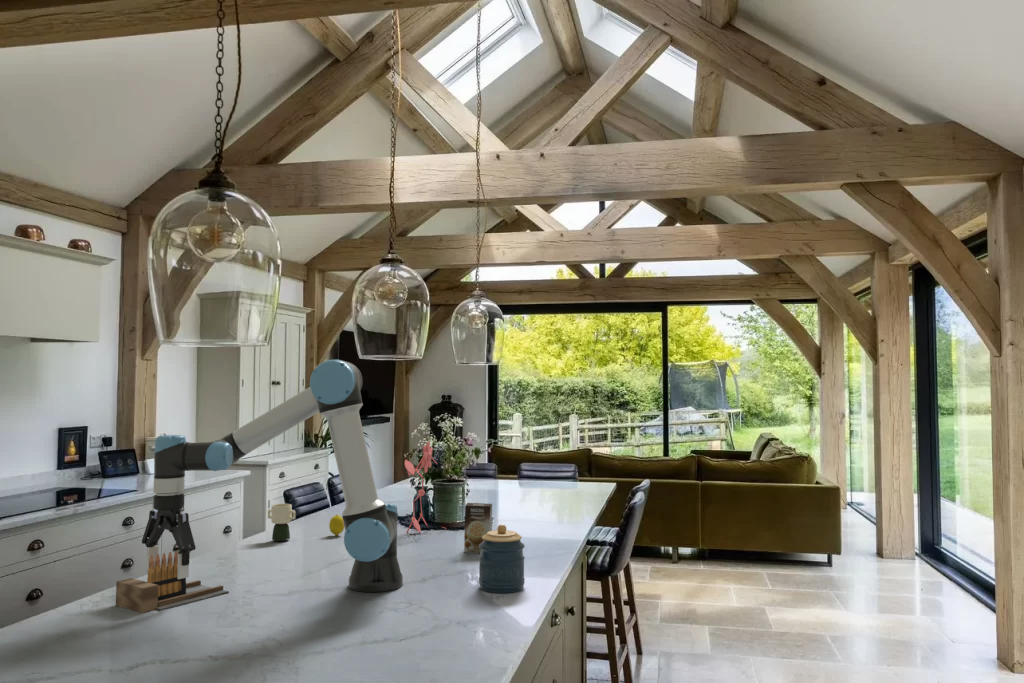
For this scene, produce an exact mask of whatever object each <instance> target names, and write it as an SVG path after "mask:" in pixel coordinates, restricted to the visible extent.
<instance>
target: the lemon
mask: <svg viewBox="0 0 1024 683" xmlns="http://www.w3.org/2000/svg"><path fill="white" fill-rule="evenodd" d="M328 525H329V526H328V527H329V530H330V532H331V533H332V534H334V535H335V536H336V537H338V536H339V535H340V534H342V533H343V531H344V530H345V527H344V522H343V517H342V515H339V514H335V515H334V516H332V517H331V518H330V521H329V524H328Z"/></svg>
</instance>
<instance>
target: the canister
mask: <svg viewBox="0 0 1024 683" xmlns="http://www.w3.org/2000/svg"><path fill="white" fill-rule="evenodd" d="M522 538H523V537H522V535H520V534H519V533H518V532H517V531H515V530H509V529H507V526H506V525H505V524H502V523H501V524H499V525H498V526H497V529H496V530H492V531H489V532H487V533H486V534H485V535H483V536H482V539H484V540H483V542H482V543H480V544H479V547H480V549H481V553H480V555H479V556H478V560H479V566H478V569H479V572H478V573H479V576H478V585H479V589H480V590H482V591H483V592H488V593H495V594H509V593H515V592H519V591H521V590H523V589H524V586H525V559H526V558H525V556H524V548H525V547H526V546H525V544H524V543H523V542H522V541H521V539H522Z"/></svg>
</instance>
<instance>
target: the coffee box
mask: <svg viewBox="0 0 1024 683" xmlns="http://www.w3.org/2000/svg"><path fill="white" fill-rule="evenodd" d="M489 531H493V503H481V502H467V503H466V504H465V506H464V539H463V540H464V543H463V546H464V549H463V553H467V554H468V553H469V554H481V549H480V547H479V544H480V543H482V542H483V540H484V539H482V536H483V535H485V534H486V533H487V532H489Z"/></svg>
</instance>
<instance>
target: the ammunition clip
mask: <svg viewBox="0 0 1024 683" xmlns="http://www.w3.org/2000/svg"><path fill="white" fill-rule="evenodd" d="M178 552H179V551H178V550H177V549H176V550H175V552H174V556H173V554H172V552H171V551H169V552H168V555H166V553H165V552H164V553H163V554H162V556H161V557H160V554H159V553H158V554H157V557H156V561H155V570H154V559H153V556H152V555H151V557H150V561H149V570H148V572H147V581H146V582H149V583H153V584H157V585H158V601H160V600H164V599H168V598H172V597H176V596H180V595H184V594H186V583H187V577H186V578H182V579H177V572H178Z"/></svg>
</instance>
